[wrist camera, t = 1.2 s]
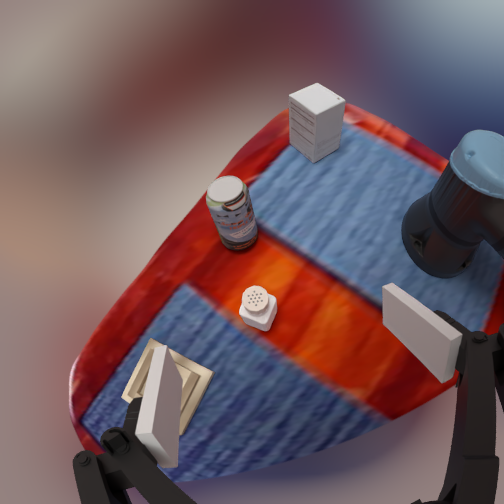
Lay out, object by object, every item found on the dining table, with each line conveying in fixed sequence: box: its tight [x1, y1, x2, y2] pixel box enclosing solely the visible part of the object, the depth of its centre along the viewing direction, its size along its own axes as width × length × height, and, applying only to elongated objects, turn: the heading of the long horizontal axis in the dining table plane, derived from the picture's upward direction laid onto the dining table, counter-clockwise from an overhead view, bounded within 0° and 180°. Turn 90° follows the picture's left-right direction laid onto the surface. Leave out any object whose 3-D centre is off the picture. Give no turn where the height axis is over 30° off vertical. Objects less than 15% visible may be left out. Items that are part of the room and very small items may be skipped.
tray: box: [122, 338, 215, 435], centre depth 39 cm, size 11×11×2 cm
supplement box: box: [289, 83, 346, 163], centre depth 51 cm, size 7×7×13 cm
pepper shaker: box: [239, 286, 277, 331], centre depth 39 cm, size 4×4×10 cm
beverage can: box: [206, 176, 258, 250], centre depth 44 cm, size 6×7×12 cm
